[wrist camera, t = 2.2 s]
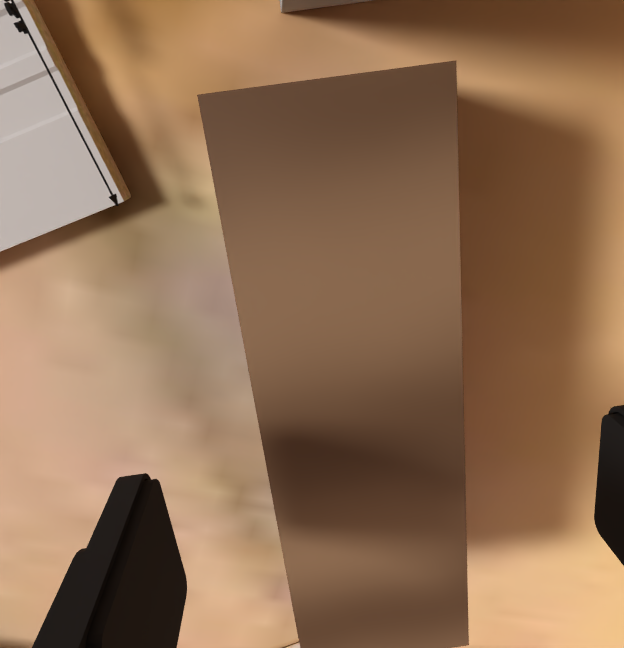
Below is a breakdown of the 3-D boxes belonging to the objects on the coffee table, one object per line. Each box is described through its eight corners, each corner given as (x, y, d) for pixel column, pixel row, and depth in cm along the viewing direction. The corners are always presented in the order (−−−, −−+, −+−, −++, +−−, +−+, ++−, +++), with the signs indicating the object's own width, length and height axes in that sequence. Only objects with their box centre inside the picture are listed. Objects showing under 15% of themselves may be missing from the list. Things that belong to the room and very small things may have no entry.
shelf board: (224, 100, 16) (197, 94, 10) (393, 78, 16) (455, 60, 10) (296, 526, 22) (304, 669, 16) (419, 509, 22) (468, 644, 16)
